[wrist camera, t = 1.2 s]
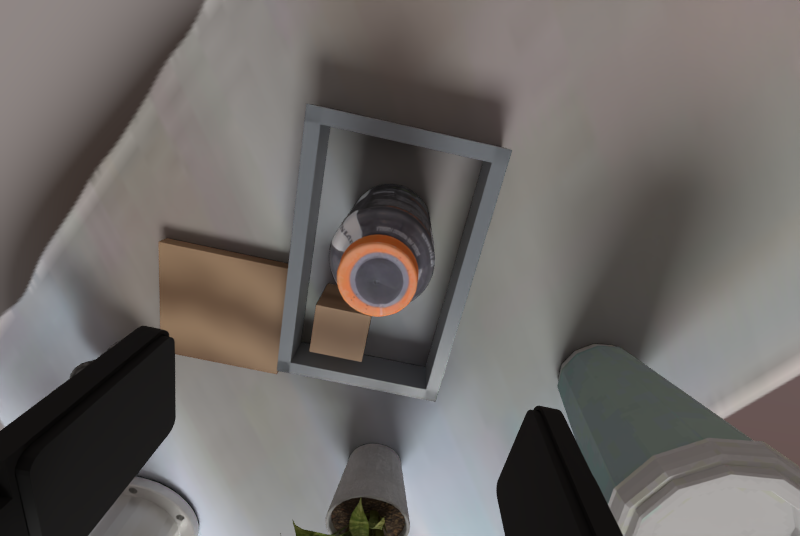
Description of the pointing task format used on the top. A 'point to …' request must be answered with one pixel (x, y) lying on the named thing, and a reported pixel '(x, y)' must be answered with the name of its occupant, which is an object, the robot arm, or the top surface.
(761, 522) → the disposable coffee cup
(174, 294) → the pad
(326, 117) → the bin
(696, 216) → the top surface
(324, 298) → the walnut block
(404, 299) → the pill bottle
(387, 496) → the house plant
